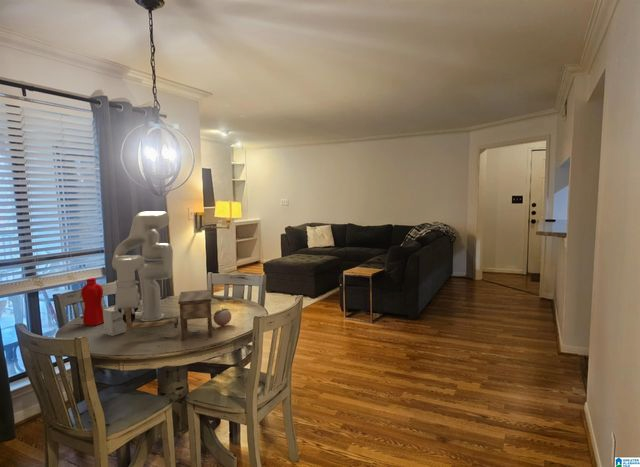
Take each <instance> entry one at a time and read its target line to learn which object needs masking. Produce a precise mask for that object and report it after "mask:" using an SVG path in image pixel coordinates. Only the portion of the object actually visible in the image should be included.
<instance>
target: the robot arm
mask: <svg viewBox="0 0 640 467" xmlns="http://www.w3.org/2000/svg"><path fill="white" fill-rule="evenodd" d="M131 223H132V224H131V228H130V231H129V235H128V237H126V238H125V239H124V240H123V241H122V242H120V243H119V244H118V245H117V247H116V248H115V250H114V253H113V256H112V261H111V265H112V269H113V270H115V271H116V276H117V277H116V279H117V280H116V281H117V287H116V290H115V305H114V306H113V307H114V310H116V311H119V312H120V313H121V314H122V315H123V321H124V323H125V324H126V315H125V308H131V310H132V313H131V322H133V323H134V322H135V321H136V317H139V320H140V321H141V322H144V323H145V322H155V321H161V320H162V319H164V318H165V313H162V305H161V303H162V301H161V286H160V284H159V283H158V282H157V280H168V279H170V278H171V277H172V275H173V259H174V254H173V252H174V251H173V250H174V249H173V247H172V245H171V244H170V243H167V242H160V234H159V232H158V231H157V230H161V229H164V228H167V226H168V225H169V223H170V215H169V213H168V212H167V211H164V210H163V211H159V210H158V211H150V210H149V211H141V212H138V213H137V214H136V215H135V216H134V217H133V220H132V222H131ZM141 246H142V248H141V249H142V250H141V251H142V253H141V254H142V255H140V254H126V253H127V252H128V251H129V252H130V251H131V250H133V249H135V248H138V247H141ZM145 260H146V261H153V262H146V261H145ZM154 261H155V262H154ZM157 261H158V262H157ZM161 261H162V262H161ZM135 271H138V272H137V273H138V277H139V280H136V273H135ZM139 281H140V283H139ZM138 284H140V290H141V296H140V290H139V287H138V286H139V285H138ZM140 309H142V311H140V312H139V311H138V310H140Z"/></svg>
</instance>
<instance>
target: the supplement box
mask: <svg viewBox="0 0 640 467" xmlns="http://www.w3.org/2000/svg"><path fill="white" fill-rule="evenodd" d="M114 307H115V306H112V307H108V308H103V319H104V323H103V329H104V330H103V332H104V334H105V335H107V334H108V336H110V335H111V337H114V336H116V335H117V336H118V335H119V334H123V333H126V332H127V329H126V323H124V321H123V315H122V314H121V313H120V312H119V311H116V310H114Z"/></svg>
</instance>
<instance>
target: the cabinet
mask: <svg viewBox="0 0 640 467" xmlns="http://www.w3.org/2000/svg"><path fill="white" fill-rule="evenodd" d="M177 304H178V305H179V318H180V337H181V338H180V339H181V342H183V341H186V339H187V338H186V330H188V320H189V321H190V320H199V319H206V320H207V323H206V324H207V338H208V339H211V338H213V331H212V330H213V329H212V328H213V327H212V326H213V324H212V323H213V322H212V321H213V320H212V319H213V318H212V289H201V290H188V291H180V294H179V297H178V300H177Z"/></svg>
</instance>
